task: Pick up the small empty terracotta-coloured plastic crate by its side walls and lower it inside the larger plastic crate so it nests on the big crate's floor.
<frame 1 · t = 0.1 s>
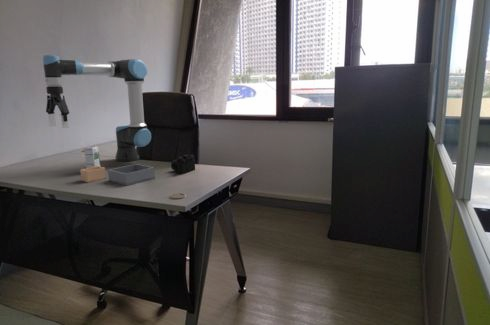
hand: (59, 126, 192), 28 cm above the table, fingers open, 13 cm apart
syrup box: (93, 171, 212), on the table
large crate: (132, 179, 193), on the table
small crate: (93, 179, 194), on the table
camera: (182, 171, 211), on the table
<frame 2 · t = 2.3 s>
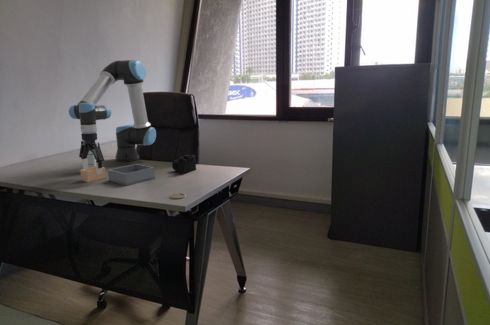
hand: (92, 172, 193), 4 cm above the table, fingers open, 13 cm apart
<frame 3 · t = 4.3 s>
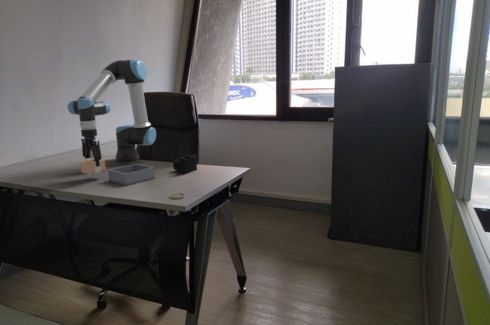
hand: (93, 171, 193), 5 cm above the table, fingers closed on small crate, 7 cm apart
small crate: (93, 171, 193), point 4 cm above the table, touching gripper
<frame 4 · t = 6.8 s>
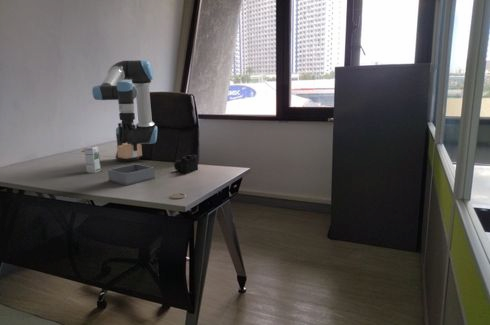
hand: (130, 156, 190), 13 cm above the table, fingers closed on small crate, 7 cm apart
small crate: (130, 156, 190), point 13 cm above the table, touching gripper
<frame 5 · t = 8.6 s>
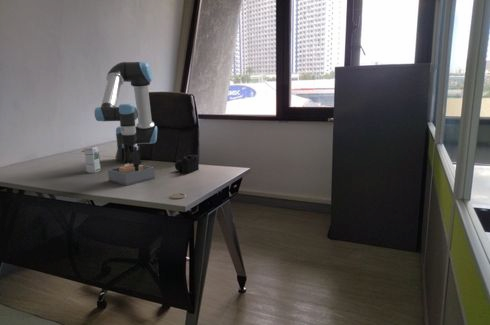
hand: (131, 176, 193), 2 cm above the table, fingers closed on small crate, 7 cm apart
small crate: (131, 177, 193), point 1 cm above the table, touching gripper
when the fingers open (2 cm above the table, at t = 10.1 s): small crate stays where it is, resting on large crate.
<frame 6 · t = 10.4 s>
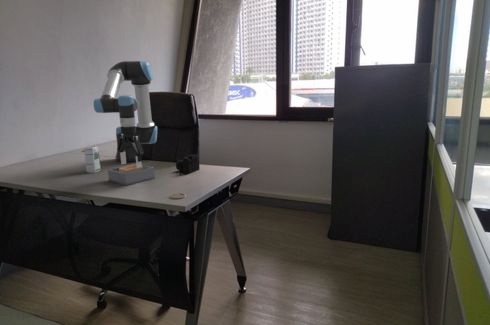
hand: (131, 165, 192), 7 cm above the table, fingers open, 13 cm apart
small crate: (131, 178, 193), point 1 cm above the table, touching large crate
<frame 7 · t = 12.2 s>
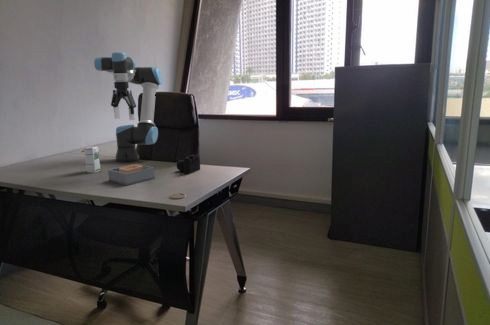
hand: (124, 119, 207), 30 cm above the table, fingers open, 13 cm apart
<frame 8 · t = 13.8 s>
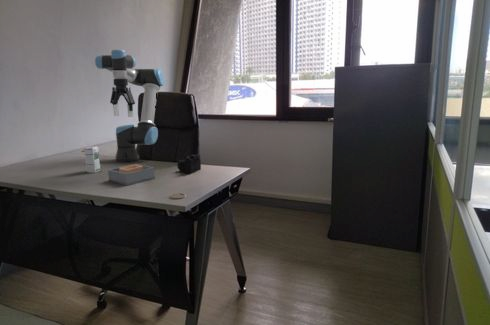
hand: (123, 116, 208), 32 cm above the table, fingers open, 13 cm apart
at the end: small crate inside the target area on the large crate (0.1 cm from its centre), point 0.8 cm above the large crate's base; small crate tilted 0°; the gripper is holding nothing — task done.
